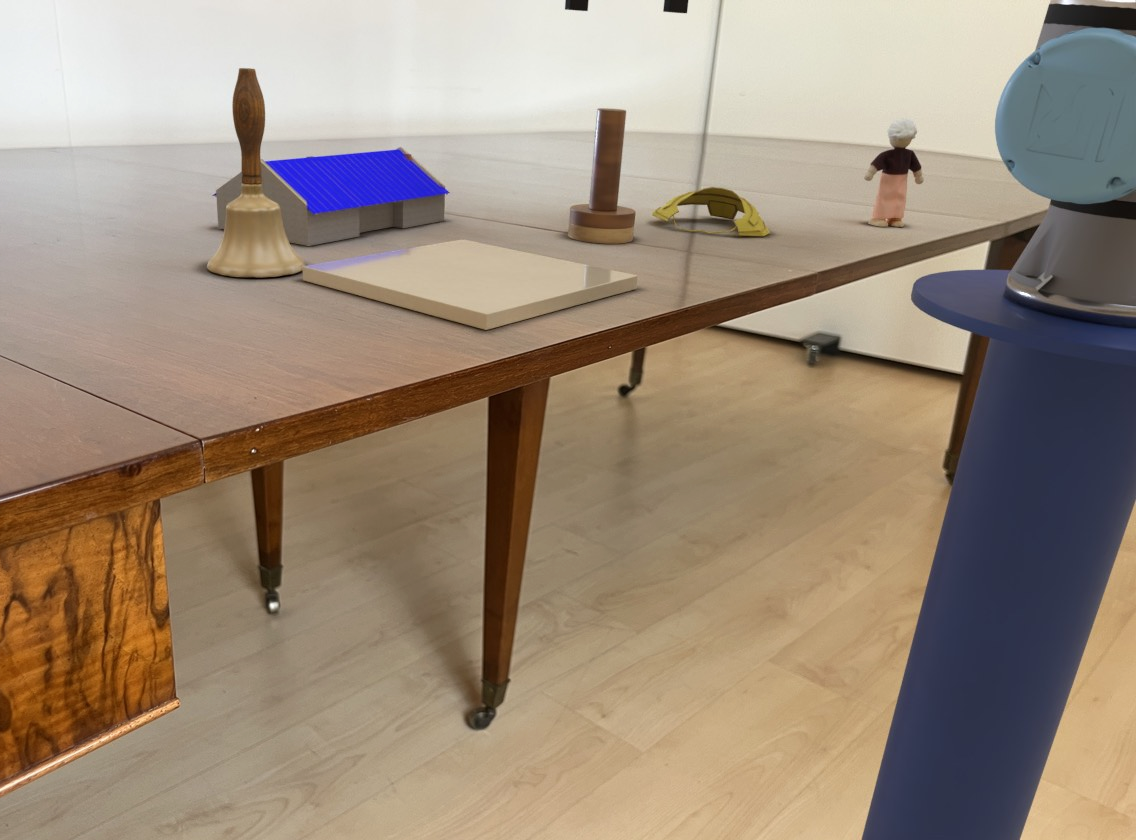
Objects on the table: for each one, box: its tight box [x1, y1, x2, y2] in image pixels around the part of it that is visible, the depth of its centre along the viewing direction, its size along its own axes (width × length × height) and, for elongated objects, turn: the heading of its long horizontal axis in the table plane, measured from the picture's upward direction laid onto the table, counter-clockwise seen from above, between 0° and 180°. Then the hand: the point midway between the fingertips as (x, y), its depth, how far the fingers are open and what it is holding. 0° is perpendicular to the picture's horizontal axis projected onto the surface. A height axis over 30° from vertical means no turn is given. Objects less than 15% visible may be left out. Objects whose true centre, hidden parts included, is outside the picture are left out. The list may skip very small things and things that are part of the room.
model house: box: [212, 146, 451, 247], centre depth 105 cm, size 22×14×7 cm, turn 146°
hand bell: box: [206, 67, 307, 278], centre depth 83 cm, size 8×8×16 cm
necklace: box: [651, 186, 771, 238], centre depth 116 cm, size 13×12×4 cm
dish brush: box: [567, 107, 637, 245], centre depth 105 cm, size 7×7×13 cm
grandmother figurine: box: [863, 117, 925, 228], centre depth 122 cm, size 8×4×13 cm, turn 111°
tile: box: [302, 238, 638, 331], centre depth 84 cm, size 20×20×1 cm
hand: (623, 11), depth 101 cm, fingers open, 13 cm apart
